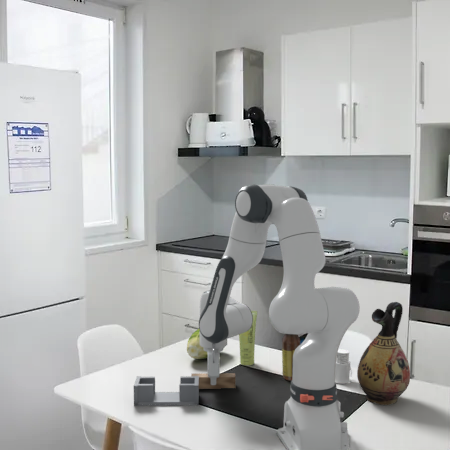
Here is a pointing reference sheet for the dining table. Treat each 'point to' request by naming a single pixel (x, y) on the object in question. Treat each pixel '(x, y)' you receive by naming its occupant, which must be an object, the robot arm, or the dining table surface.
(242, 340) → the tube
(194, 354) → the lettuce
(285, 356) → the sauce bottle
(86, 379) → the dining table surface
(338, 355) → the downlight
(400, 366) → the ceramic jug
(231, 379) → the slat
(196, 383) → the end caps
